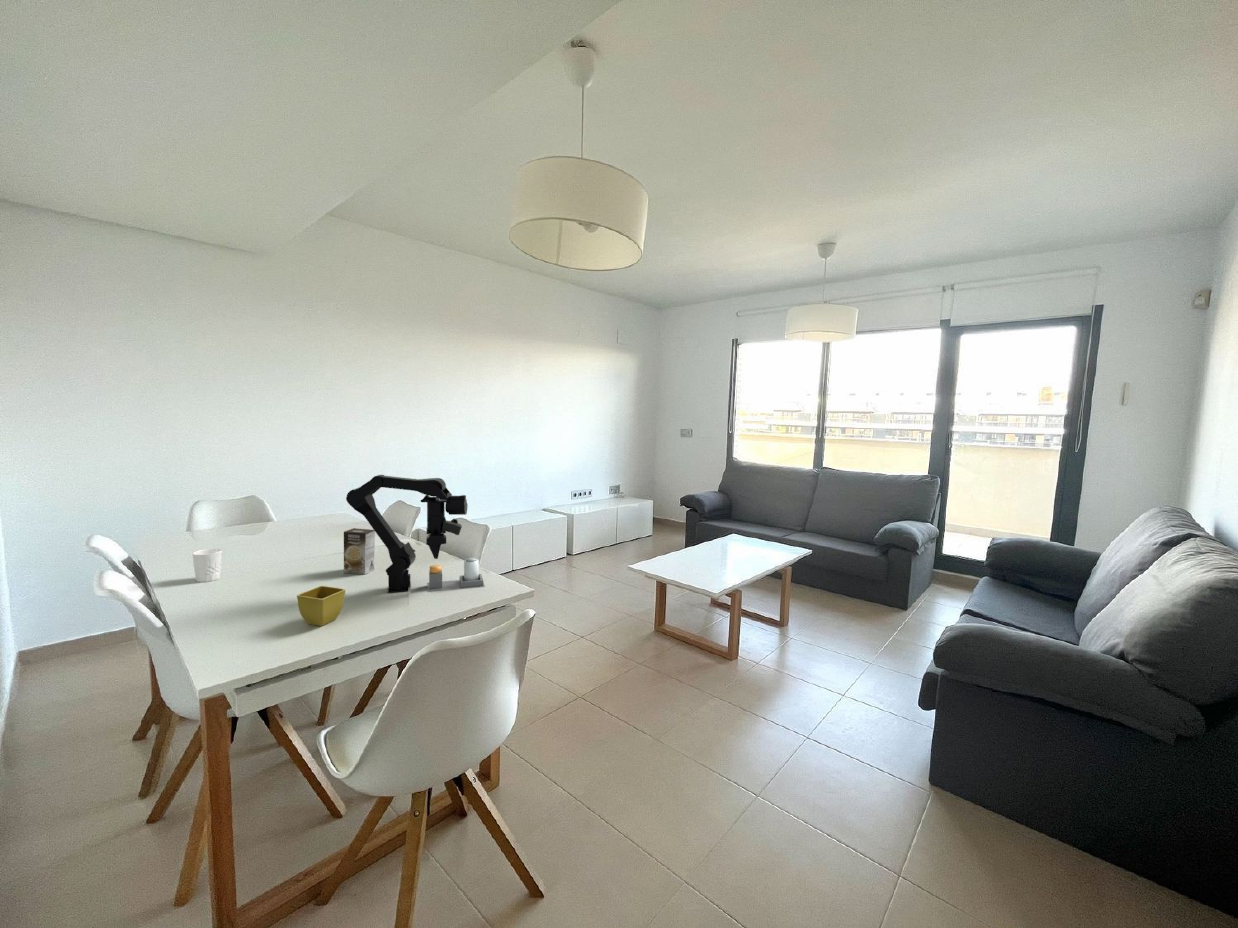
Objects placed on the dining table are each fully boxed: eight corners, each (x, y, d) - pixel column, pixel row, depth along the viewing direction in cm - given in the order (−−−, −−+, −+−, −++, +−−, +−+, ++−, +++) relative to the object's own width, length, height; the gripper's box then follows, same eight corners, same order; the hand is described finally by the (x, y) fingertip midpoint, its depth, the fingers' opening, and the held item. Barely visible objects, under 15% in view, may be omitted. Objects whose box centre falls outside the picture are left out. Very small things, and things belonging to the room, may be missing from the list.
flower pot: (346, 618, 142) (346, 588, 141) (322, 630, 133) (321, 598, 132) (321, 614, 144) (321, 585, 143) (296, 626, 135) (295, 595, 134)
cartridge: (464, 586, 170) (464, 561, 169) (463, 581, 174) (463, 557, 173) (479, 584, 172) (479, 560, 171) (477, 580, 176) (477, 556, 175)
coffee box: (342, 573, 182) (342, 531, 180) (353, 568, 188) (353, 527, 187) (365, 574, 181) (365, 532, 179) (375, 569, 187) (375, 529, 186)
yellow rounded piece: (429, 585, 166) (429, 568, 165) (429, 582, 169) (429, 565, 169) (441, 584, 167) (441, 567, 167) (441, 581, 171) (441, 564, 170)
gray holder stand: (427, 594, 163) (427, 577, 162) (427, 584, 172) (427, 568, 172) (484, 588, 170) (485, 572, 169) (482, 580, 179) (482, 564, 179)
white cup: (226, 578, 171) (225, 551, 170) (198, 584, 165) (197, 556, 164) (217, 574, 176) (216, 547, 175) (190, 579, 169) (189, 552, 168)
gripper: (462, 518, 161) (462, 564, 162) (458, 508, 178) (458, 549, 179) (426, 520, 156) (426, 566, 158) (426, 510, 174) (426, 552, 175)
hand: (436, 558), depth 168 cm, fingers closed
